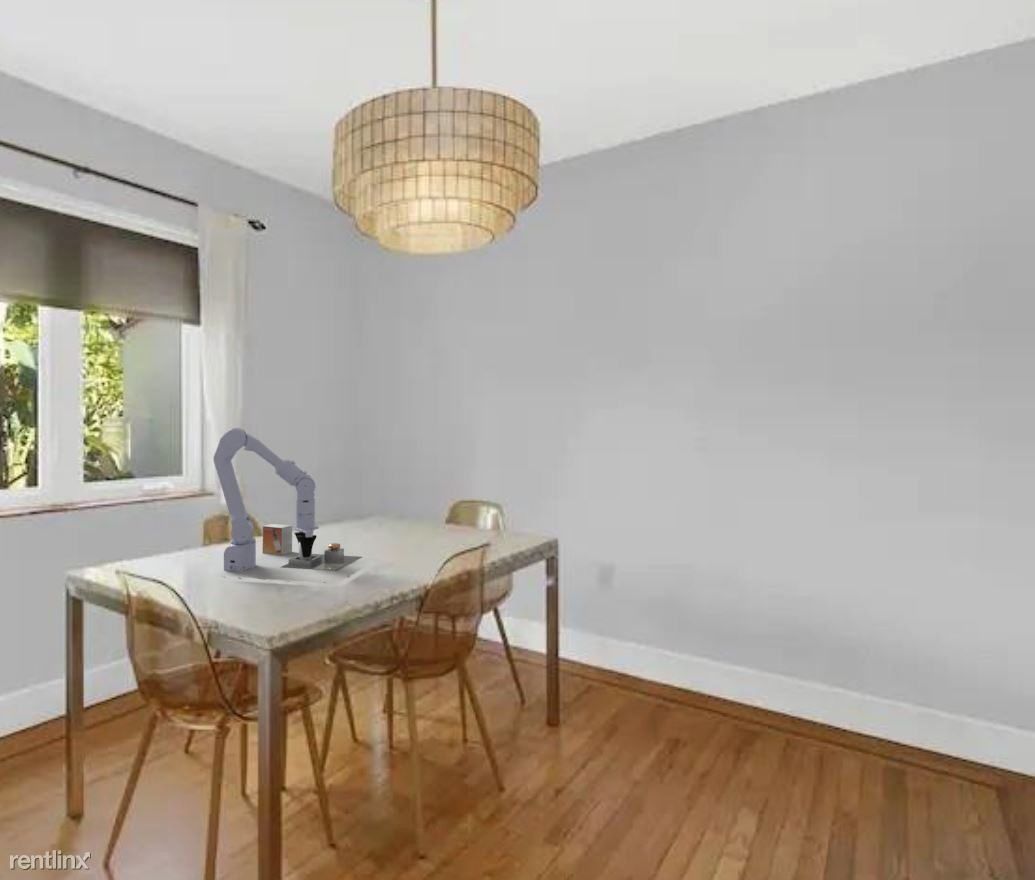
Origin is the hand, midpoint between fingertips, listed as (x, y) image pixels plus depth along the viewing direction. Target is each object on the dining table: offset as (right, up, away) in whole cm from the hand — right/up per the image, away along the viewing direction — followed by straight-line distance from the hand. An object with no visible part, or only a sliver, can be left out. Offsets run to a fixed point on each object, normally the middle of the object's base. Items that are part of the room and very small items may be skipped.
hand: (305, 555), depth 206 cm
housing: (+5, -3, +1) cm, 6 cm away
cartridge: (0, -2, 0) cm, 2 cm away
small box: (-14, -3, +14) cm, 20 cm away
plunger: (+8, -1, +5) cm, 9 cm away
